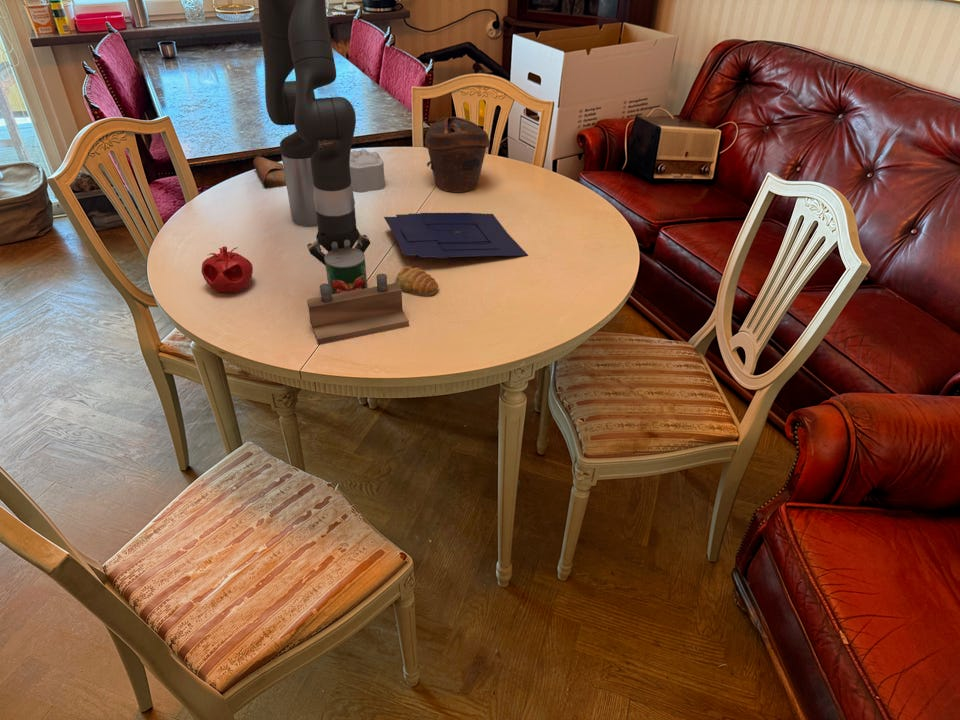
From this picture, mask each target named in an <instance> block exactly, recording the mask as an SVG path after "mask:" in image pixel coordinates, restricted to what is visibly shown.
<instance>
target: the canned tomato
mask: <svg viewBox="0 0 960 720" xmlns="http://www.w3.org/2000/svg"><path fill="white" fill-rule="evenodd" d="M338 250H339V251H337V252H336V251H335V252H332V250H331V251H329V252H328V251H327V253H326V254H325V257H324V260H325V265H326V266H325V265H324V266H325V271H326V278H327V284H330V287H331V295H332V294H337V293H343V292H348V291H354V290H359V289H365V288H369V285H368V277H367V269H366V268H367V266H366V255H365V252H364V253H363V252H362V251H361V250H359V249H356V248H354V247H353V248H350V250H347V249H346V250H343V248H341V249H338Z"/></svg>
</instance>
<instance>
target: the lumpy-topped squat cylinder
mask: <svg viewBox="0 0 960 720" xmlns="http://www.w3.org/2000/svg"><path fill="white" fill-rule="evenodd" d="M384 167H385V165H384V160H383V158H382V157H381V156H380V154H379V153H378V152H377V151H372V152H371V151H368V150H367V149H364V148H363V149H360V150H352V151H351V152H350V175H351V185H352V189H353V193H367V192H372V191H381V190H383V189H384V188H385V187H386V183H385V180H386V179H385V168H384Z"/></svg>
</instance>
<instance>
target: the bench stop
mask: <svg viewBox="0 0 960 720" xmlns="http://www.w3.org/2000/svg"><path fill="white" fill-rule="evenodd" d="M375 277H376V286H371V287H370V286H369V287H368V288H365V289H359V290H354V291H348V292H343V293H337V294H332V295H331V287H330V284H328V282H326V283H321V284H320V285H319V292H320V293H319V294H320V296H315V297H311V298H307V299H306V302H307V309H308V313H309V317H308V318H309V323H310V326H311V328H312V331H313V334H314V337H315V339H316V342H317V344H318V345H323V344H327V343H332V342H338V341H341V340H346V339H350V338H356V337H357V338H358V337H360V336H366V335H371V334H375V333H381V332H385V331H390V330H395V329H399V328H400V329H401V328H404V327H409V326H410V321H409V319H408V316H407V315H406V314H405V312H404V310H403V309H404V308H403V306H404V305H403V293H402V292H403V290H402V289H401V288H400V286H399V285H398V283H395V282H394V283H392V282H391V283H388V279H387V278H388V277H387V273H378V274H377V275H375Z"/></svg>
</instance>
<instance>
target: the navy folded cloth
mask: <svg viewBox="0 0 960 720" xmlns="http://www.w3.org/2000/svg"><path fill="white" fill-rule="evenodd" d="M383 218H384V220H385V222H386V223H387V225H388V227H389V229H390V231H391V232H392V234H393V236H394V237H395V239H396V241H397V243H398V245H399V247H400V250H401V252H402V253H403V255H404V256H419V258H435V259H438V258H439V259H443V258H445V259H447V258H451V259H452V258H460V257H461V258H462V257H463V258H465V257H466V258H467V257H495V256H497V257H498V256H499V257H500V256H502V257H517V256H529V254H528V253H527V252H526V251H525V250H524V249H523V248H522V247H521V246H520V245H519V243H518V242H517V241H516V240H515V239H514V238H513V237H511V235H510V234H509V233H508V232H507V230H506V229H505V228H504V227H503V224H501V223H500V221H499V220H498V219H497V217H496V216H495V215H494V214H493V213H480V212H479V213H478V212H420V213H407V214H406V213H405V214H403V213H401V214H395V216H383Z"/></svg>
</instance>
